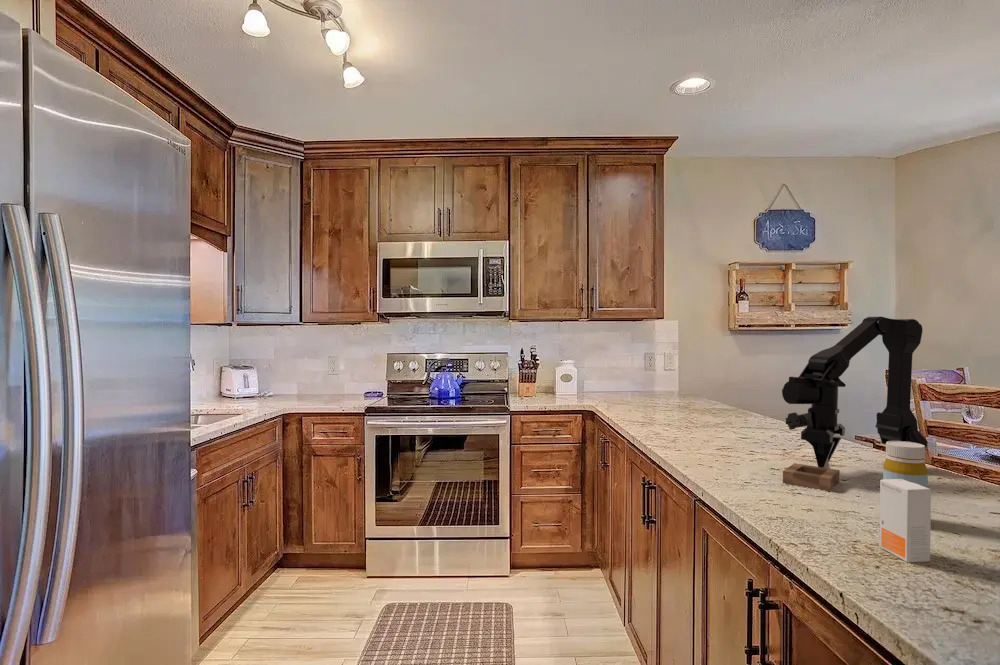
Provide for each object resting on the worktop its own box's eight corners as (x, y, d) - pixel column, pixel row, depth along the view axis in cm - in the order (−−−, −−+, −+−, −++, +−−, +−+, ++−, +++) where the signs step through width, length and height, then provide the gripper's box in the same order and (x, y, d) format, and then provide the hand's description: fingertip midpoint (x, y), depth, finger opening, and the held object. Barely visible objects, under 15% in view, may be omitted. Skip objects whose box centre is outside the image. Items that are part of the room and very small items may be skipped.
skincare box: (878, 548, 94) (878, 478, 94) (901, 547, 94) (901, 478, 94) (907, 563, 88) (907, 489, 88) (932, 562, 88) (932, 488, 88)
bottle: (935, 527, 103) (935, 448, 103) (893, 525, 104) (894, 447, 104) (915, 515, 110) (915, 441, 110) (876, 513, 111) (876, 439, 111)
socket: (794, 474, 140) (794, 463, 139) (839, 482, 133) (839, 470, 133) (782, 483, 132) (782, 471, 132) (830, 491, 125) (830, 478, 125)
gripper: (798, 398, 150) (797, 455, 150) (779, 403, 136) (777, 465, 136) (846, 403, 143) (844, 462, 143) (830, 408, 129) (828, 474, 129)
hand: (822, 466), depth 138 cm, fingers open, 4 cm apart
